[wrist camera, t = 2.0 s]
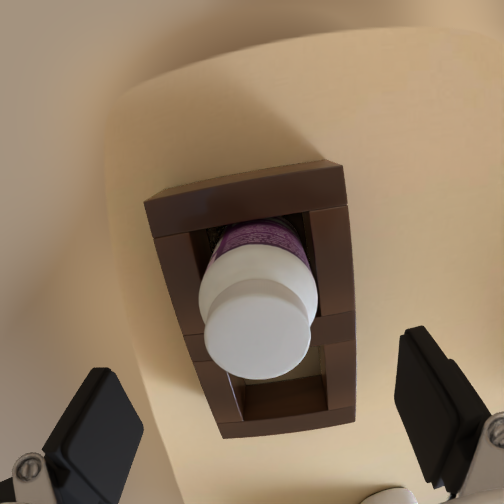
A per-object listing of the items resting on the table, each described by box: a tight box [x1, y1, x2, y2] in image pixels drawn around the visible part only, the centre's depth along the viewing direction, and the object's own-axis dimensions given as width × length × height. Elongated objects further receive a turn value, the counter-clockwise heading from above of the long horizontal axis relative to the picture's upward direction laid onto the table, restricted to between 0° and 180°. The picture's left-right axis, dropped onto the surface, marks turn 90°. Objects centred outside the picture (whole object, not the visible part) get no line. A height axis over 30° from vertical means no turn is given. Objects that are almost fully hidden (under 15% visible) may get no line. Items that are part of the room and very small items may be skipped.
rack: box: [144, 160, 357, 439], centre depth 20 cm, size 18×10×4 cm, turn 10°
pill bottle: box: [199, 216, 318, 379], centre depth 16 cm, size 5×5×10 cm
